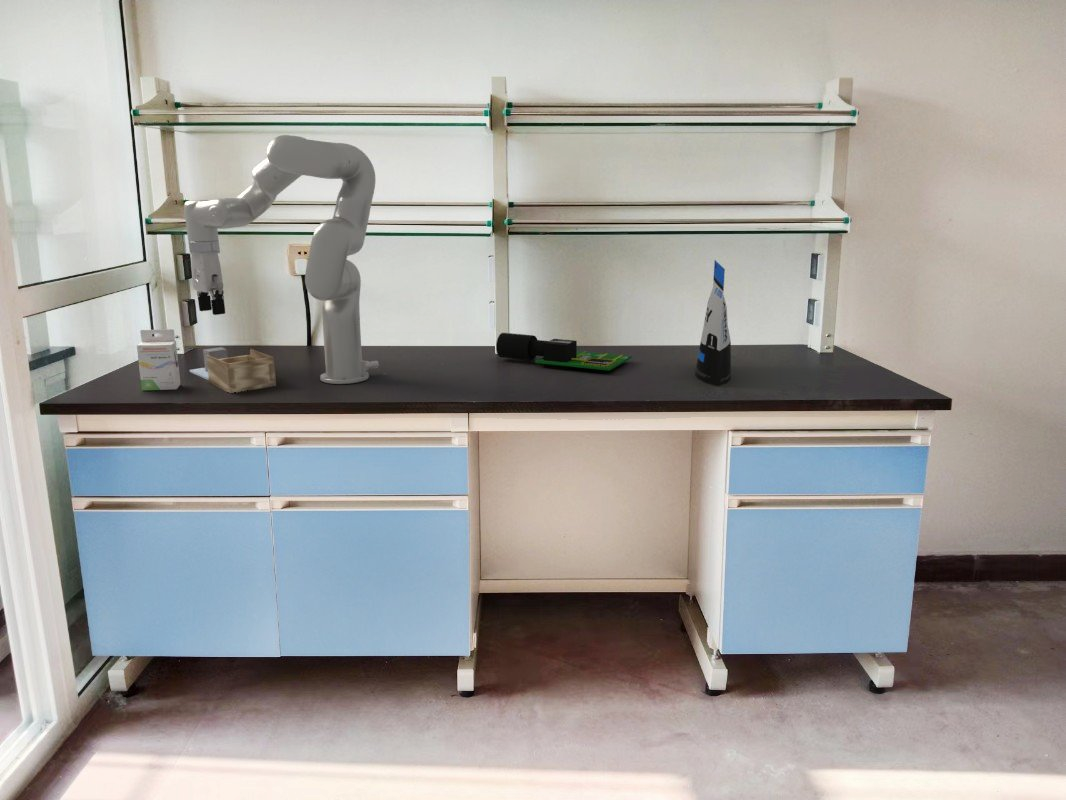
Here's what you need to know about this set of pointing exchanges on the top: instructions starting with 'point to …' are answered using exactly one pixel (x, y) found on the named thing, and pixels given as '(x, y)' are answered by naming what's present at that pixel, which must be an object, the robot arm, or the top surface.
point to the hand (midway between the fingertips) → (212, 312)
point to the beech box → (242, 372)
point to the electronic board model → (554, 353)
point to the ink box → (158, 360)
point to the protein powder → (715, 336)
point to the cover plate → (200, 373)
